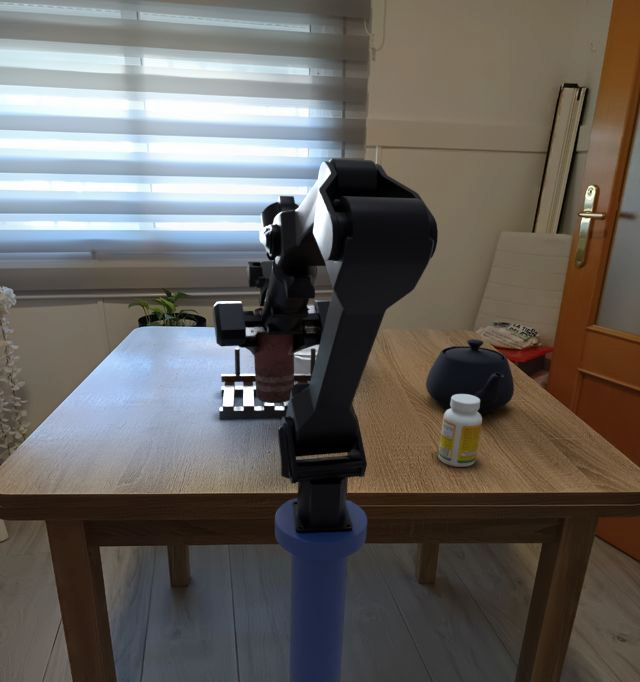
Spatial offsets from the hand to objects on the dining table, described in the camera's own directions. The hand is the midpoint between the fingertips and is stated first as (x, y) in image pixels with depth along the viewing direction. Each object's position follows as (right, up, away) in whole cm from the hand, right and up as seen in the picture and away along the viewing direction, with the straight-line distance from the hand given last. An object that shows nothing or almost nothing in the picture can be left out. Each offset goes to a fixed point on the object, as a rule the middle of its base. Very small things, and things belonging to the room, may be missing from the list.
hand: (272, 351), depth 90 cm
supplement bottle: (+28, -17, -5) cm, 33 cm away
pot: (+4, +2, +39) cm, 39 cm away
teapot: (+35, -8, +16) cm, 39 cm away
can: (0, -7, +1) cm, 7 cm away
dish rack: (0, -8, +13) cm, 15 cm away
